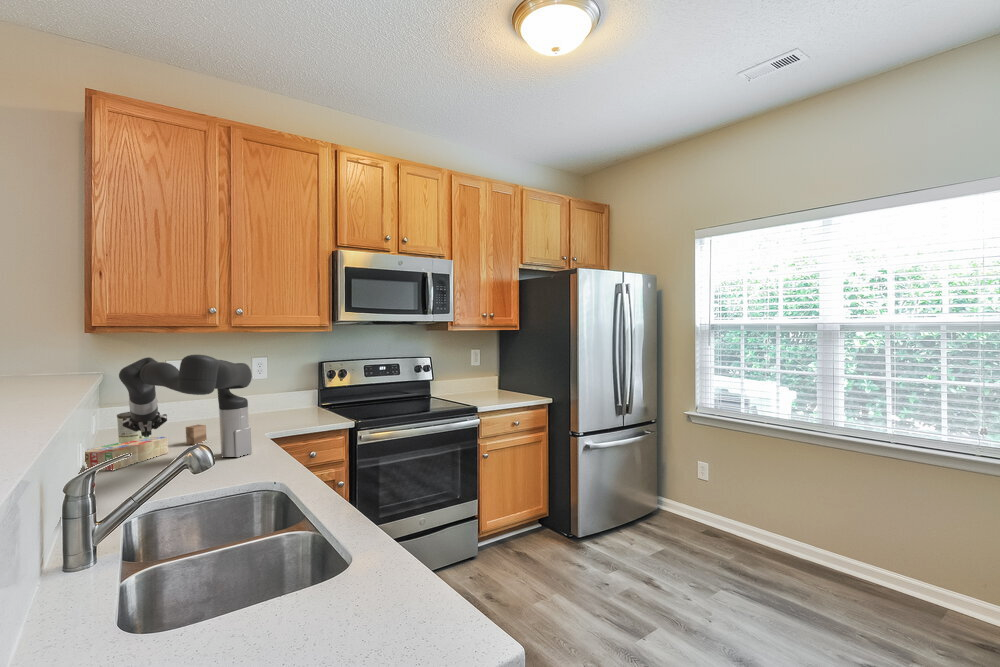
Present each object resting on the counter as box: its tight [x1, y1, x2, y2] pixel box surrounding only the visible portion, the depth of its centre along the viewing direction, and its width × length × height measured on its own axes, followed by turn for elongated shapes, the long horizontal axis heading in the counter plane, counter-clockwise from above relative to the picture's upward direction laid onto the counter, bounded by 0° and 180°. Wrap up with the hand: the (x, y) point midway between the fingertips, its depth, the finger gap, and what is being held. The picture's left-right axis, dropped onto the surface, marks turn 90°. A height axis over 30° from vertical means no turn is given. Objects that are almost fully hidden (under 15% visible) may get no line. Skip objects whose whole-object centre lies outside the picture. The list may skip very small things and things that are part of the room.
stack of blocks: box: [85, 436, 169, 472], centre depth 174 cm, size 21×6×12 cm
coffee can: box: [116, 411, 152, 443], centre depth 192 cm, size 10×10×14 cm
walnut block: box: [185, 423, 208, 446], centre depth 198 cm, size 5×5×7 cm
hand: (146, 434), depth 173 cm, fingers closed
